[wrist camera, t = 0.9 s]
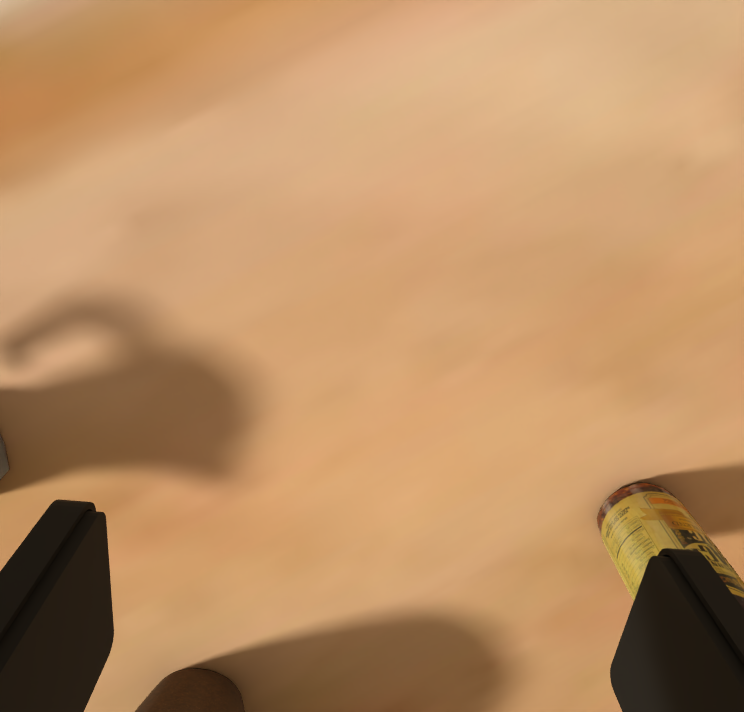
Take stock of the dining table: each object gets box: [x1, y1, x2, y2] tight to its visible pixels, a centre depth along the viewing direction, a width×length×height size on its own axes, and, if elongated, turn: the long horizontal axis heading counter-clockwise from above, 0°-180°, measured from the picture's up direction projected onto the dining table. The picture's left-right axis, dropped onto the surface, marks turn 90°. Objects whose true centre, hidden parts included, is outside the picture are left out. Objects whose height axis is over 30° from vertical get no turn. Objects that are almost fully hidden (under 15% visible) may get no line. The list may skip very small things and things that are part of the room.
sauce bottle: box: [597, 483, 744, 609], centre depth 37 cm, size 7×6×20 cm
